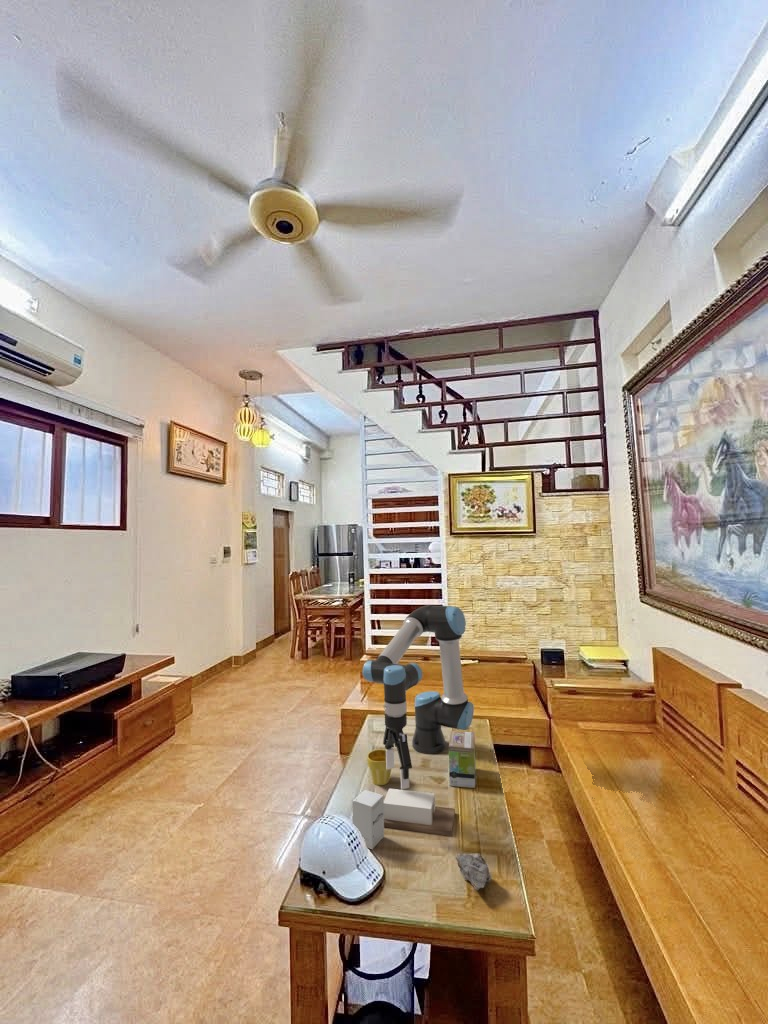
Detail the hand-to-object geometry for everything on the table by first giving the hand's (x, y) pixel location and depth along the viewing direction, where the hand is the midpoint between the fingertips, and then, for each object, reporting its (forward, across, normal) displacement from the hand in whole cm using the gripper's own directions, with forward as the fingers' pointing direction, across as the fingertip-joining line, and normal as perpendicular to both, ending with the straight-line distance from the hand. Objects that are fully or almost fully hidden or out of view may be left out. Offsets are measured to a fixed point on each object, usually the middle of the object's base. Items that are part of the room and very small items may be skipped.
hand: (397, 777), depth 148 cm
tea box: (+13, -14, +33) cm, 38 cm away
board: (+13, +4, +5) cm, 14 cm away
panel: (+11, +2, +3) cm, 12 cm away
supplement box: (+13, +7, -13) cm, 20 cm away
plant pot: (+13, -24, +2) cm, 27 cm away
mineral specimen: (+13, +35, +8) cm, 38 cm away
